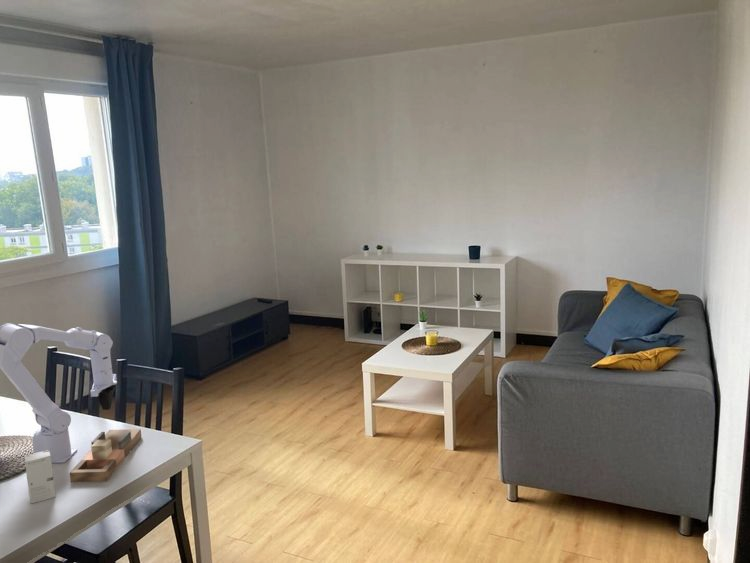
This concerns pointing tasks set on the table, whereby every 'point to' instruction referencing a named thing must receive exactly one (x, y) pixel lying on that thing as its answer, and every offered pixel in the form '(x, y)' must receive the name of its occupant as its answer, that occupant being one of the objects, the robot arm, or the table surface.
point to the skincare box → (39, 476)
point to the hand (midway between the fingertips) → (106, 408)
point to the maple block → (101, 449)
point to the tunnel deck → (105, 468)
